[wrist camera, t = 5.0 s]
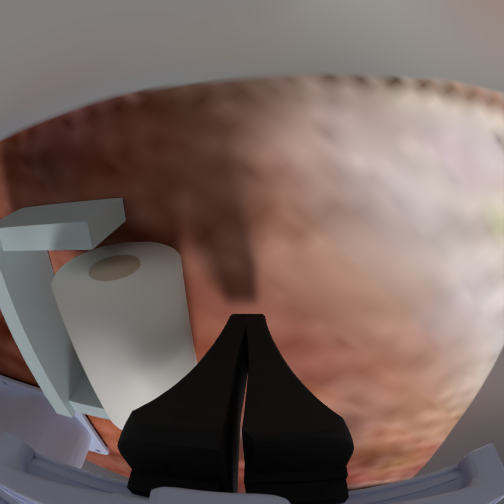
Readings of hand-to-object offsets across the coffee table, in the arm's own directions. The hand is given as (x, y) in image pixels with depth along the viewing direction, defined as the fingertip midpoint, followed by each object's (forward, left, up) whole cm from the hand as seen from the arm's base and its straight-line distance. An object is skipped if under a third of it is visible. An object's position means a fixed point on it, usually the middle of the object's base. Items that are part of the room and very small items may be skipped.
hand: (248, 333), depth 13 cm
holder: (-8, 0, -1) cm, 9 cm away
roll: (-5, 0, +1) cm, 5 cm away
